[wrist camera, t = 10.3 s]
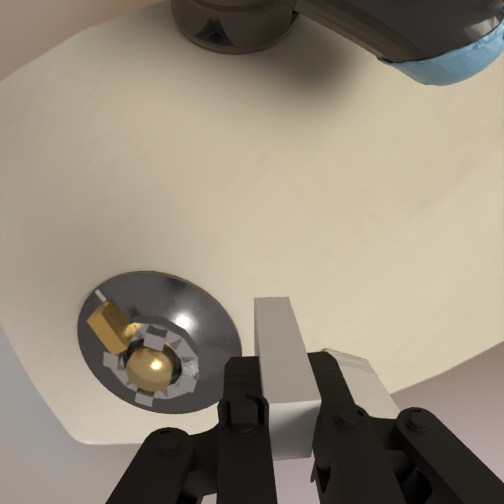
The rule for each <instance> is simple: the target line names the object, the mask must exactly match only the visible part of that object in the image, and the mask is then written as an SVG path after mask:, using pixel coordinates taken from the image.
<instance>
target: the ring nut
mask: <svg viewBox="0 0 504 504" xmlns="http://www.w3.org/2000/svg"><path fill="white" fill-rule="evenodd" d="M87 322H88V324H89V325H90V326H91V328H92V329H93V330H94V332H95V333H96V335H97V336H98V337H99V339H100V340H101V341H102V343H103V344H104V345H105V346H106V349H105V351H104V359H103V365H104V366H107V367H110V368H111V370H112V371H113V372H114V374H115V375H116V376H117V377H118V378H119V380H120V381H121V382H122V383H123V384H124V385H125V386H126V387H128V388H130V389H132V390H134V391H135V392H136V398H135V402H137V403H140V404H143V405H146V406H150V407H151V406H152V403H153V400H154V398H161V399H171V398H174V397H176V396H179V395H182V394H185V393H188V392H192V393H193V391H194V388H195V385H196V381H197V379H198V378H199V374H200V353H199V348H198V346H197V345H196V344H195V342H194V341H193V339H192V338H191V337H190V335H189V334H188V332H187V331H186V330H185V329H183V328H182V327H180V326H178V325H176V324H174V323H172V322H171V321H169V320H167V319H165V318H163V317H154V316H141V315H137V316H135V317H133V318H131V319H129V320H127V319H126V317H125V316H124V314H123V313H122V311H121V310H120V309H119V307H118V306H117V304H116V303H115V301H114V300H113V298H112V299H110V300H108V301H106V302H105V303H103V304H101V305H99V306H98V307H97V309H96V310H95V311H94V312H93V314H92V315H91V316H90V317H89V318H88V320H87ZM139 338H145V339H144V345H143V346H146V347H150V348H153V349H156V350H159V351H163V348H164V345H165V344H166V345H167V346H169V347H171V348H172V349H173V350H174V352H175V353H176V354H177V356H178V357H179V358H180V359H181V365H182V368H181V370H180V371H179V373H178V374H177V375H174V376H172V377H171V381H170V384H169V385H168V386H167V387H166V388H165V389H163V390H161V391H154V392H153V391H146V390H143V389H141V388H139V387H137V386H136V385H134V384H133V383H132V382H131V381H130V379H129V378H128V376H127V374H126V364H127V362H128V356H127V350H126V349H127V348H128V346H129V344H130V342H132V341H135V340H137V339H139Z"/></svg>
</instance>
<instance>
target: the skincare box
mask: <svg viewBox="0 0 504 504" xmlns="http://www.w3.org/2000/svg"><path fill="white" fill-rule="evenodd" d="M326 351H327V352H329V353H330V354H331V355H332V356H333V357H334V358H336V360H337V362H338V364H339V367H340V370H341V371H342V374H343V377H344V378H345V381H346V383H347V385H348V388H349V390H350V392H351V395H352V397H353V399H354V402H355V404H356V405H358V406H360V407H362V408H363V409H365V410H366V412H367V413H368V414H369V415H370V416H372V417H377V418H390V419H396V418H397V416H398V414H399V413H400V411H399V410H398V408H397V406H396V405H395V403H394V401H393V400H392V398H391V397H390V395H389V393H388V392H387V390H386V388H385V387H384V385H383V384H382V382H381V380H380V379H379V377H378V376H377V374H376V372H375V371H374V369H373V368H372V366H371V364H370V363H369V361H368V360H365V359H362V358H358V357H354V356H351V355H347V354H343V353H340V352H336V351H332V350H329V349H325V350H324V352H326Z"/></svg>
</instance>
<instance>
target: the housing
mask: <svg viewBox="0 0 504 504" xmlns="http://www.w3.org/2000/svg"><path fill="white" fill-rule="evenodd" d="M112 298H113V300H114V301H115V303H116V304H117V306H118V307H119V309H120V310H121V311H122V313H123V314H124V316H125V317H126V319H127V320H129V319H131V318H133V317H135V316H137V315H141V316H154V317H163V318H165V319H167V320H169V321H171V322H172V323H174V324H176V325H178V326H180V327H182V328H183V329H185V330H186V331H187V332H188V334H189V335H190V337H191V338H192V339H193V341H194V342H195V344H196V345H197V346H198V348H199V353H200V374H199V378H198V379H197V381H196V385H195V388H194V391H193V393H192V392H188V393H185V394H182V395H179V396H176V397H174V398H171V399H161V398H154V400H153V403H152V406H151V407H150V406H146V405H143V404H140V403H137V402H135V398H136V392H135V391H134V390H132V389H130V388H128V387H126V386H125V385H124V384H123V383H122V382H121V381H120V380H119V378H118V377H117V376H116V375H115V374H114V372H113V371H112V370H111V368H110V367H107V366H104V365H103V359H104V351H105V349H106V346H105V345H104V344H103V343H102V341H101V340H100V339H99V337H98V336H97V335H96V333H95V332H94V330H93V329H92V328H91V326H90V325H89V324H88V322H87V320H88V318H89V317H90V316H91V315H92V314H93V312H94V311H95V310H96V309H97V307H98V306H99V305H101V304H103V303H105V302H106V301H108V300H110V299H112ZM144 339H145V338H139V339H137V340H135V341H132V342H130V344H129V346H128V348H127V349H126V350H127V356H128V362H127V364H126V374H127V376H128V378H129V379H130V381H131V382H132V383H133V384H134V385H136V386H137V387H139V388H141V389H143V390H146V391H153V392H154V391H161V390H163V389H165V388H166V387H167V386H168V385H169V384H170V381H171V377H172V376H174V375H177V374H178V373H179V371H180V370H181V368H182V365H181V359H180V358H179V357H178V356H177V354H176V353H175V352H174V350H173V349H172V348H171V347H169V346H167V345H166V344H165V345H164V348H163V351H159V350H156V349H153V348H150V347H146V346H143V345H144ZM78 340H79V345H80V349H81V352H82V355H83V357H84V359H85V361H86V363H87V365H88V367H89V369H90V370H91V371H92V373H93V374H94V376H95V377H96V378H97V379H98V380H99V381H100V382H101V384H103V385H104V386H105V387H106V388H107V389H108V390H109V391H110V392H112V393H113V394H114V395H116V396H117V397H119V398H120V399H122V400H124V401H126V402H128V403H130V404H132V405H134V406H136V407H139V408H141V409H145V410H148V411H152V412H157V413H164V414H184V413H191V412H195V411H199V410H202V409H205V408H207V407H209V406H211V405H213V404H215V403H217V402H218V401H219V400H220V399H222V398H223V387H224V368H225V364H226V363H227V362H228V360H229V359H230V357H242V347H241V341H240V337H239V334H238V331H237V328H236V326H235V324H234V322H233V320H232V319H231V317H230V316H229V314H228V313H227V311H226V310H225V309H224V308H223V307H222V305H221V304H220V303H219V302H218V301H217V300H216V299H215V298H213V297H212V296H211V295H210V294H209V293H207V292H206V291H204V290H203V289H202V288H200V287H199V286H197V285H195V284H193V283H191V282H189V281H187V280H185V279H182V278H180V277H177V276H174V275H170V274H166V273H161V272H154V271H137V272H129V273H125V274H122V275H118V276H116V277H114V278H111V279H109V280H108V281H106V282H105V283H103V284H101V285H100V286H99V287H98V288H97V289H96V290H95V291H94V292H93V293H92V294H91V295H90V297H89V298H88V299H87V300H86V302H85V304H84V306H83V308H82V310H81V313H80V316H79V321H78Z"/></svg>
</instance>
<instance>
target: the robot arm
mask: <svg viewBox="0 0 504 504" xmlns="http://www.w3.org/2000/svg"><path fill="white" fill-rule="evenodd" d="M171 7H172V12H173V15H174V18H175V20H176V22H177V24H178V26H179V28H180V29H181V31H182V32H183V33H184V34H185V35H186V36H187V37H188V38H189V39H190V40H191V41H193V42H194V43H195V44H197V45H199V46H201V47H203V48H205V49H208V50H211V51H214V52H218V53H224V54H247V53H253V52H257V51H261V50H264V49H266V48H269V47H271V46H273V45H274V44H276V43H278V42H279V41H281V40H282V39H283V38H285V37H286V36H287V35H288V34H289V33H290V31H291V30H292V29H293V27H294V26H295V24H296V22H297V20H298V18H299V16H300V14H302V15H304V16H306V17H308V18H310V19H312V20H314V21H316V22H318V23H320V24H322V25H324V26H326V27H328V28H329V29H331V30H333V31H335V32H337V33H338V34H340V35H342V36H344V37H345V38H347V39H349V40H351V41H352V42H354V43H356V44H357V45H359V46H361V47H362V48H364V49H365V50H367V51H369V52H370V53H372V54H373V55H375V56H376V57H377V59H378V60H379V61H381V62H382V63H384V64H386V65H389V66H393V67H395V68H396V69H398V70H399V71H401V72H402V73H404V74H406V75H407V76H409V77H410V78H412V79H413V80H415V81H417V82H419V83H422V84H425V85H436V86H445V85H450V84H454V83H458V82H461V81H463V80H466V79H468V78H470V77H472V76H474V75H475V74H477V73H479V72H480V71H482V70H483V69H485V68H486V67H487V66H489V65H490V64H491V63H492V62H493V61H495V60H496V59H497V58H498V56H499V55H500V54H501V53H502V52H503V50H504V0H171ZM254 344H255V356H249V357H230V359H229V360H228V362H227V363H226V364H225V368H224V387H223V398H222V399H220V401H219V403H218V406H217V409H218V418H219V423H218V424H217V425H216V426H215V427H214V428H212V429H210V430H208V431H205V432H202V433H198V434H194V435H188V434H187V433H186V432H185V431H183V430H181V429H178V428H171V427H167V428H161V429H158V430H156V431H154V432H152V433H150V435H149V436H148V437H147V438H146V439H145V441H144V442H143V444H142V445H141V447H140V449H139V450H138V452H137V453H136V455H135V457H134V459H133V460H132V462H131V463H130V465H129V467H128V468H127V470H126V471H125V473H124V474H123V476H122V478H121V479H120V481H119V483H118V484H117V486H116V487H115V489H114V490H113V492H112V494H111V495H110V497H109V499H108V500H107V502H106V503H105V504H201V502H202V499H203V497H204V496H206V495H210V494H214V493H217V502H216V504H278V503H277V494H276V486H275V477H274V468H273V460H287V459H298V458H308V457H311V453H312V449H313V453H314V457H315V461H314V466H313V470H312V474H311V482H314V480H315V481H316V485H317V490H318V495H319V500H320V504H504V483H503V482H502V481H501V480H500V479H499V478H498V477H497V476H496V475H495V474H494V473H493V472H492V471H491V470H490V469H489V468H488V467H487V466H486V465H485V464H484V463H483V462H482V461H481V460H480V459H479V458H478V457H477V456H476V455H475V454H474V453H472V452H471V450H470V449H469V448H467V447H466V446H465V445H464V444H463V443H462V442H461V441H460V440H459V439H458V438H457V437H456V436H455V435H454V434H453V433H452V432H451V431H450V430H449V429H448V428H447V427H446V426H445V425H444V424H443V423H442V422H441V421H440V420H439V419H438V418H436V416H435V415H433V414H432V413H431V412H429V411H428V410H426V409H422V408H417V407H411V408H407V409H404V410H403V411H401V412H400V413H399V414H398V416H397V418H396V419H390V418H377V417H372V416H370V415H369V414H368V413H367V412H366V410H365V409H363V408H362V407H360V406H358V405H356V404H355V402H354V399H353V397H352V395H351V392H350V390H349V388H348V385H347V383H346V381H345V378H344V377H343V374H342V371H341V370H340V367H339V364H338V362H337V360H336V358H334V357H333V356H332V355H331V354H330V353H329V352H327V351H326V352H312V353H307V352H306V349H305V346H304V343H303V340H302V337H301V333H300V330H299V327H298V324H297V321H296V318H295V315H294V312H293V309H292V306H291V303H290V300H289V297H266V298H254Z"/></svg>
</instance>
